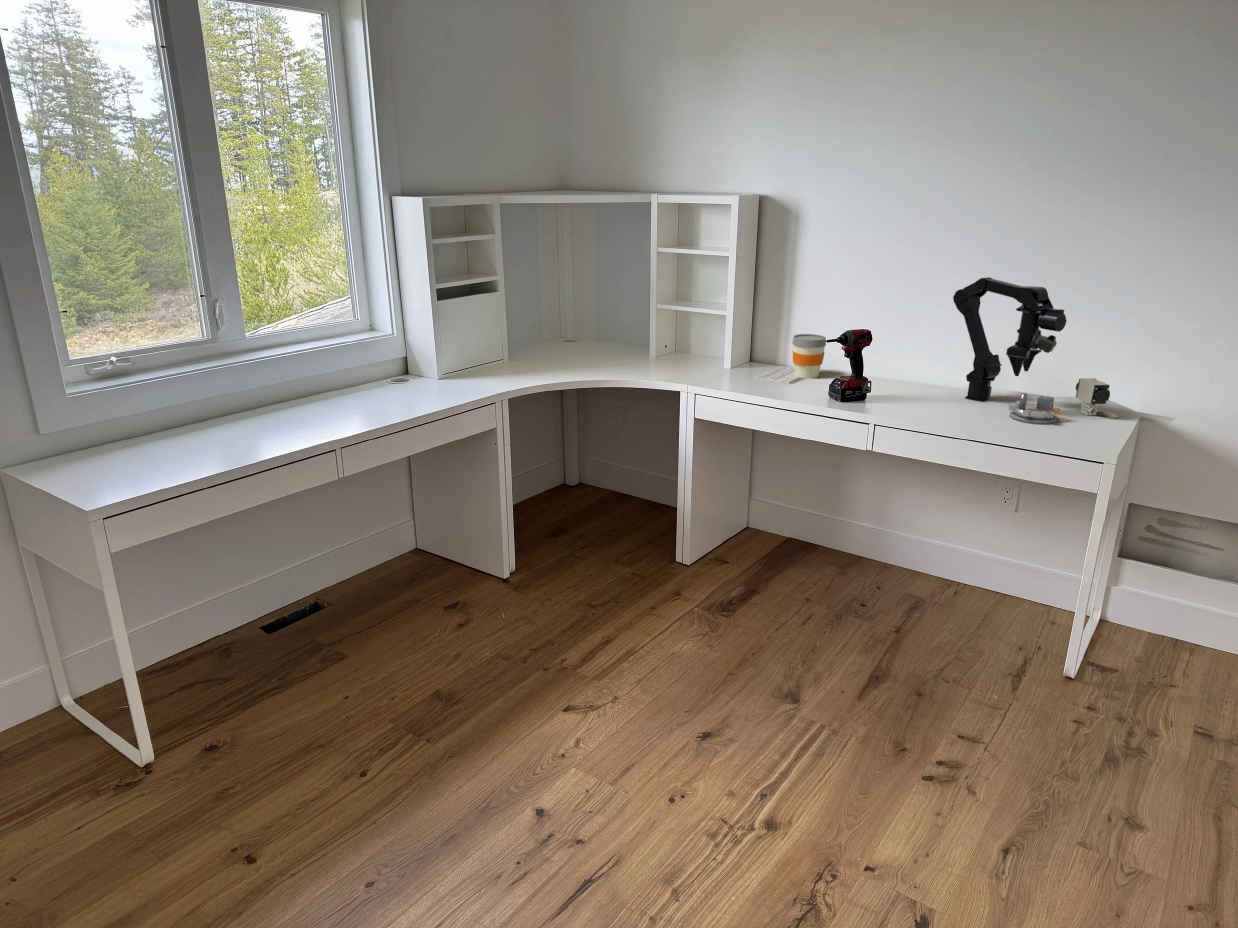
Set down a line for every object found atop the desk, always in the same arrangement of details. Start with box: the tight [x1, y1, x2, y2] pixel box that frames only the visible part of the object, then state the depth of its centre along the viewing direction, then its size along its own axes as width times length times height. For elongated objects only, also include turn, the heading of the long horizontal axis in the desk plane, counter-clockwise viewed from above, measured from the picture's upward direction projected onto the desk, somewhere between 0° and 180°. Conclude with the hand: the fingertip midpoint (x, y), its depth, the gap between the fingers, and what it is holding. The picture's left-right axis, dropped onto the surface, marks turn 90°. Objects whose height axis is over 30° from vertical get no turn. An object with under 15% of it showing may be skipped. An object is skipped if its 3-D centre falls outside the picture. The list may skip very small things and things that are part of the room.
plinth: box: [1009, 410, 1067, 425], centre depth 266 cm, size 16×14×1 cm
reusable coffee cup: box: [792, 333, 827, 379], centre depth 317 cm, size 13×13×15 cm
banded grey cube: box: [1036, 395, 1055, 410], centre depth 264 cm, size 4×3×4 cm
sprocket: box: [1007, 392, 1062, 420], centre depth 265 cm, size 14×15×7 cm
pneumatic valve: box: [1075, 377, 1111, 416], centre depth 270 cm, size 6×12×12 cm, turn 4°
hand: (1021, 373), depth 274 cm, fingers open, 9 cm apart
